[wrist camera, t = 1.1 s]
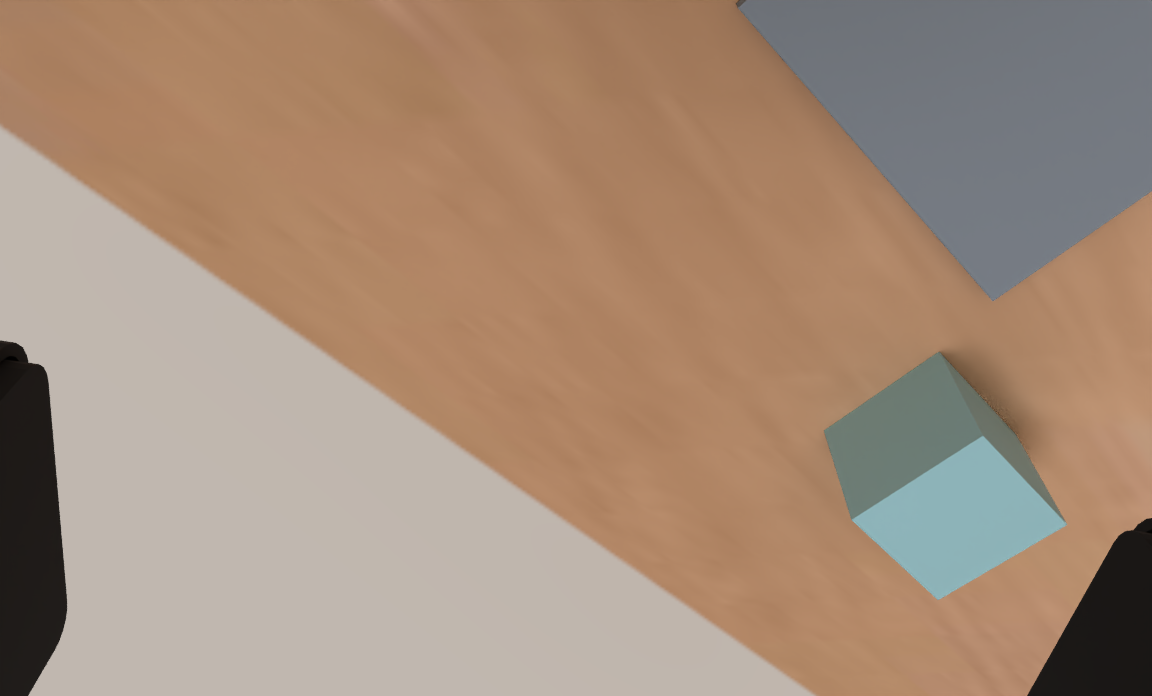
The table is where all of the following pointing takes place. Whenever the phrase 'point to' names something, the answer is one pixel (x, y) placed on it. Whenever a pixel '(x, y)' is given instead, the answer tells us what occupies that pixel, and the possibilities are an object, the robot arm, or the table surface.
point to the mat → (985, 112)
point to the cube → (939, 478)
